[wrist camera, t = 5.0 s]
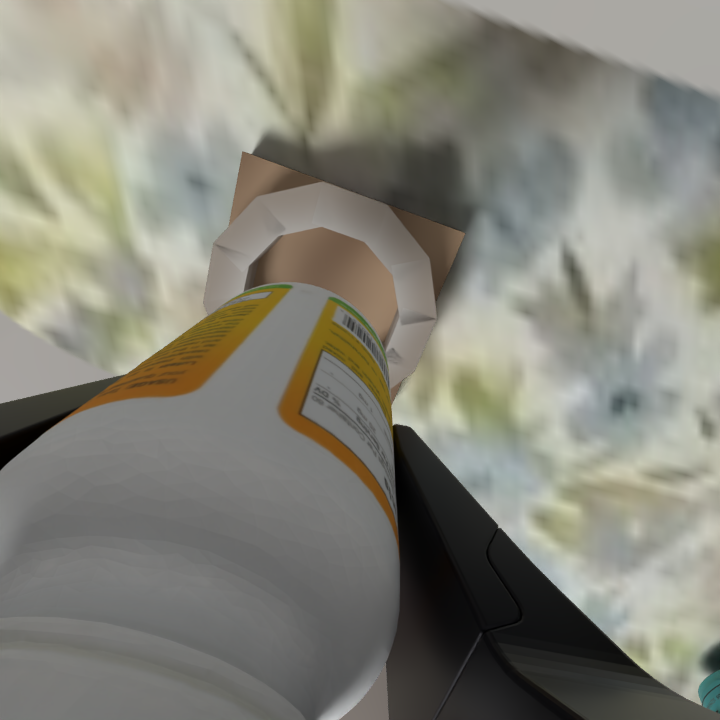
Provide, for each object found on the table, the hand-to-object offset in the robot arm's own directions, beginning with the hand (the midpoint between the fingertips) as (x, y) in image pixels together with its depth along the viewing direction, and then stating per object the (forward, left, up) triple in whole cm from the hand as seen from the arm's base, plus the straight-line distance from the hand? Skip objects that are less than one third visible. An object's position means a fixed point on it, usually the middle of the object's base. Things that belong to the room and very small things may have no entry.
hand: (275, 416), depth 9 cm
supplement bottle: (0, 0, -3) cm, 3 cm away
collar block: (0, 0, -11) cm, 11 cm away
